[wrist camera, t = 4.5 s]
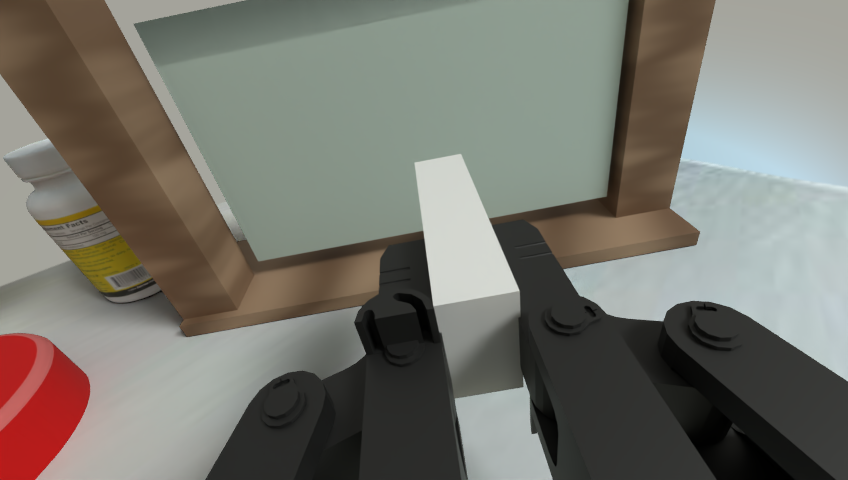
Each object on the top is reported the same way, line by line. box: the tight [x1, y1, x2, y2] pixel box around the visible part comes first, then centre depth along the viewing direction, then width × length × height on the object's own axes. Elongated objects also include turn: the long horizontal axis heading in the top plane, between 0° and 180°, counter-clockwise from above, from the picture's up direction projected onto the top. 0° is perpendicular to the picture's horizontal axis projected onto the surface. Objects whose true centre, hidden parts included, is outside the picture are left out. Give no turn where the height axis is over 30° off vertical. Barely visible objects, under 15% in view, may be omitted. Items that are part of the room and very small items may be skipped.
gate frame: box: [0, 0, 715, 337], centre depth 19 cm, size 27×8×17 cm, turn 94°
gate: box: [134, 0, 629, 261], centre depth 19 cm, size 20×2×12 cm, turn 94°
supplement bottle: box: [3, 139, 161, 303], centre depth 23 cm, size 5×5×10 cm
